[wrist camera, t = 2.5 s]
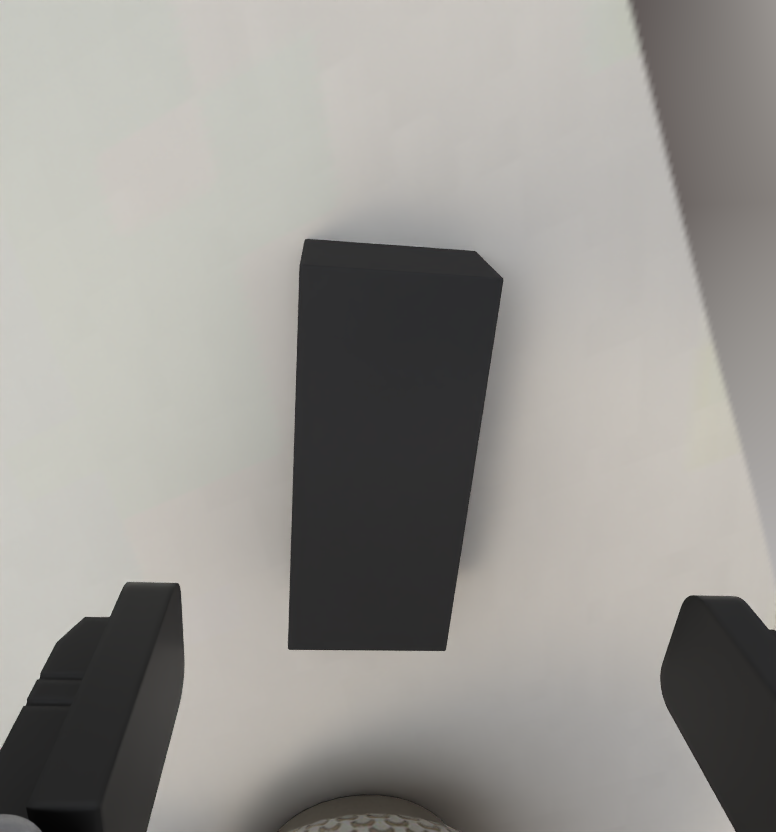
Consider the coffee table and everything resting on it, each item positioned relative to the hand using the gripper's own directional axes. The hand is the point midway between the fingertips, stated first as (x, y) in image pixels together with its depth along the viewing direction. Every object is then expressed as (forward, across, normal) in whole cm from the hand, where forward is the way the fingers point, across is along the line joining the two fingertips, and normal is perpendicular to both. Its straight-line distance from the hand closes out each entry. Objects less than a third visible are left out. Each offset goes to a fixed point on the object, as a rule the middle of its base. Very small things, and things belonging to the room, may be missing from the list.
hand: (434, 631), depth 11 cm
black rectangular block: (+12, 0, +2) cm, 12 cm away
